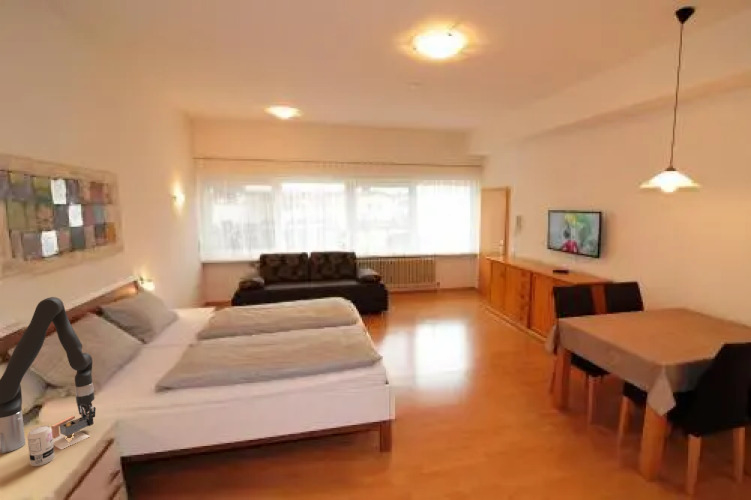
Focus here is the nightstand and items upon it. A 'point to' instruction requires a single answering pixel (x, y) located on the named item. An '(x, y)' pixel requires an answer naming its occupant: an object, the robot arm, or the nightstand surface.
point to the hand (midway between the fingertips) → (88, 423)
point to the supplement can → (40, 445)
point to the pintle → (67, 426)
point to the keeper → (56, 426)
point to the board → (63, 443)
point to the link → (74, 426)
